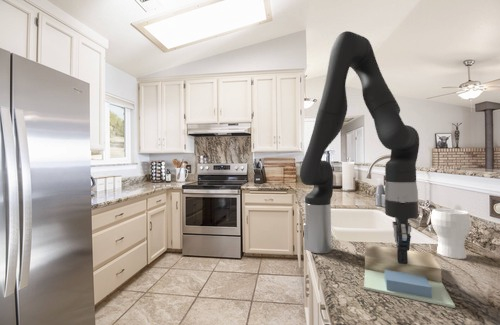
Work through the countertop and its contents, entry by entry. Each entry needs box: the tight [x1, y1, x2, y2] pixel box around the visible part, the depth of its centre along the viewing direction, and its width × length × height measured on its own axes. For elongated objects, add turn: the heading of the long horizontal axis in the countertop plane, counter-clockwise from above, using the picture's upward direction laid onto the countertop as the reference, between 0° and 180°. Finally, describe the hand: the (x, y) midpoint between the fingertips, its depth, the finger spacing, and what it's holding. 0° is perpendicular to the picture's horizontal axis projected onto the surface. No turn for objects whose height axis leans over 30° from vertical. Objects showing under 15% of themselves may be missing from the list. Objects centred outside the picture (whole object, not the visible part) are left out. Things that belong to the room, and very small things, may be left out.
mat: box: [363, 268, 456, 309], centre depth 60 cm, size 18×11×1 cm, turn 62°
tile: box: [385, 270, 432, 298], centre depth 59 cm, size 9×6×2 cm, turn 64°
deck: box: [364, 244, 442, 283], centre depth 71 cm, size 18×12×4 cm, turn 62°
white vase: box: [430, 208, 472, 260], centre depth 81 cm, size 11×11×15 cm
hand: (402, 262), depth 63 cm, fingers closed
